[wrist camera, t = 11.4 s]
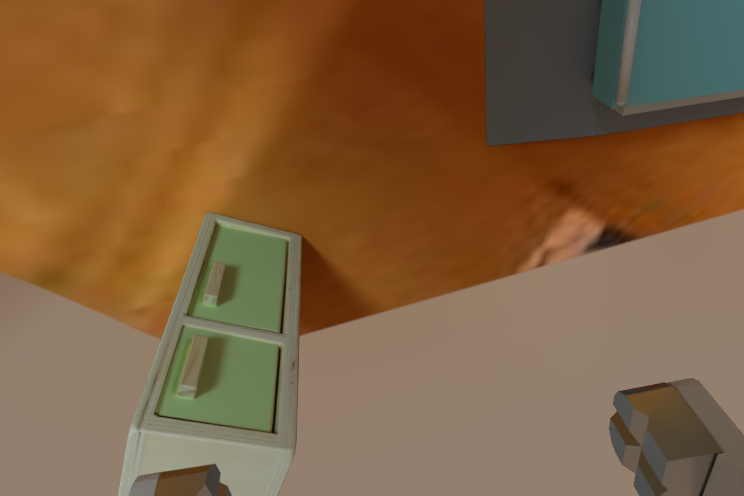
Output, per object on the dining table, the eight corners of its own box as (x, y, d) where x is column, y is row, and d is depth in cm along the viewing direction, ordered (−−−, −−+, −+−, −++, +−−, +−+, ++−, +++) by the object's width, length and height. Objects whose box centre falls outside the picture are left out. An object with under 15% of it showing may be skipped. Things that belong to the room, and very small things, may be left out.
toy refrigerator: (308, 226, 43) (300, 445, 25) (285, 296, 46) (264, 530, 29) (208, 201, 41) (125, 419, 23) (192, 275, 44) (109, 514, 27)
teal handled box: (595, -23, 34) (633, -13, 30) (750, -45, 34) (810, -39, 30) (584, 89, 38) (616, 112, 33) (723, 69, 38) (772, 89, 33)
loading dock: (478, -102, 33) (498, -103, 29) (812, -154, 33) (873, -162, 29) (483, 141, 41) (498, 163, 38) (747, 99, 41) (787, 117, 38)
